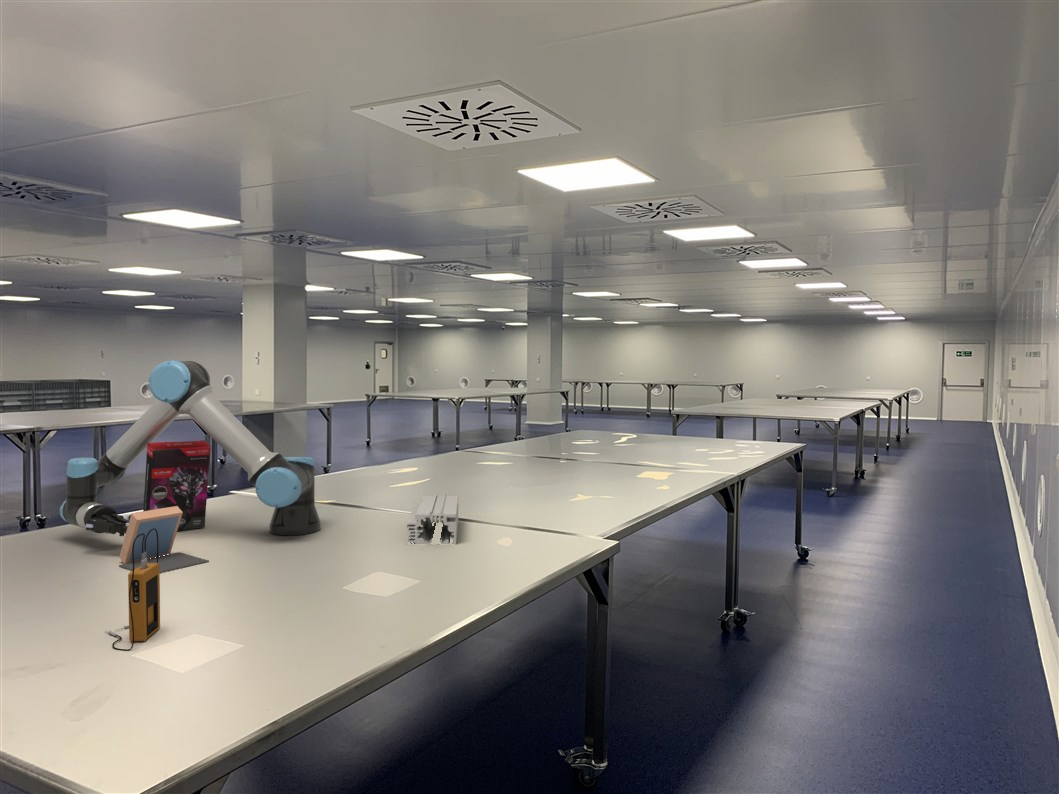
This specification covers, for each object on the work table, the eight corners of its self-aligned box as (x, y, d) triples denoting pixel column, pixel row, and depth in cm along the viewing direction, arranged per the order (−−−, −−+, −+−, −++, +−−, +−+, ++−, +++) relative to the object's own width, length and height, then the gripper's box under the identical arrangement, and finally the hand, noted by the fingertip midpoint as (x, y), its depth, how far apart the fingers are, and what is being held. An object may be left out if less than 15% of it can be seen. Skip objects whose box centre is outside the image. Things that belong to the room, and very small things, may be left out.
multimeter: (116, 623, 145) (114, 523, 144) (168, 622, 145) (167, 523, 145) (76, 652, 130) (74, 541, 129) (135, 650, 131) (133, 540, 130)
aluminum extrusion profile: (406, 546, 210) (406, 511, 209) (414, 523, 240) (414, 493, 240) (456, 545, 211) (456, 511, 210) (458, 523, 241) (458, 493, 241)
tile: (119, 557, 189) (131, 513, 185) (164, 548, 199) (177, 505, 194) (125, 565, 187) (137, 520, 183) (170, 555, 197) (183, 513, 193)
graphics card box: (146, 535, 217) (153, 448, 213) (139, 527, 222) (146, 441, 218) (205, 528, 229) (213, 445, 225) (197, 521, 234) (205, 439, 230)
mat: (118, 566, 185) (118, 565, 185) (179, 553, 198) (179, 552, 198) (147, 576, 177) (147, 574, 177) (209, 561, 190) (209, 560, 190)
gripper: (120, 527, 211) (164, 542, 197) (71, 534, 200) (114, 550, 186) (121, 501, 210) (165, 514, 197) (72, 507, 200) (115, 521, 186)
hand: (140, 532), depth 192 cm, fingers closed
